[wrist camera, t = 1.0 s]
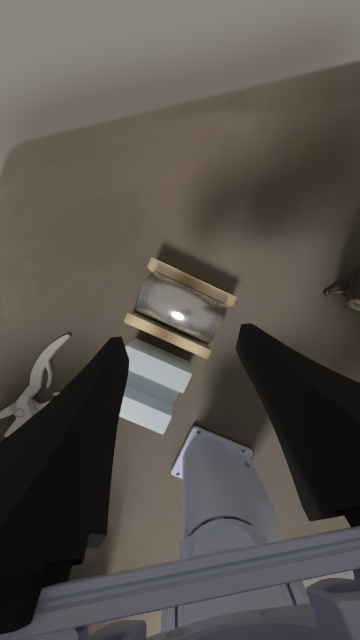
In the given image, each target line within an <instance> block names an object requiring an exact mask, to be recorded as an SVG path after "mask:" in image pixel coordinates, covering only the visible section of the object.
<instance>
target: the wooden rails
mask: <svg viewBox="0 0 360 640" xmlns="http://www.w3.org/2000/svg"><path fill="white" fill-rule="evenodd" d="M148 268H149V270H150V271H151V272H153V271H156V272H158V273H160V274H162V275H164V276H166V277H168V278H170V279H173V280H175V281H177V282H179V283H181V284H183V285H185V286H188V287H190V288H192V289H194V290H196V291H198V292H200V293H203V294H205V295H207V296H209V297H211V298H213V299H215V300H218V301H220V302H222V303H224V304H226V306H227V307H233V306H234V304H235V302H236V300H237V297H235V296H233V295H231V294H229V293H227V292H224V291H222V290H220V289H218V288H216V287H214V286H212V285H210V284H207V283H205V282H203V281H201V280H199V279H197V278H195V277H193V276H191V275H188V274H186V273H184V272H182V271H180V270H178V269H176V268H174V267H171V266H169V265H167V264H165V263H163V262H161V261H159V260H157V259H155V258H152V257H151V260H150V262H149V264H148ZM124 322H125V323H127V324H129V325H131V326H134V327H136V328H138V329H140V330H143V331H145V332H147V333H149V334H151V335H154V336H156V337H158V338H160V339H163V340H165V341H167V342H169V343H172V344H174V345H176V346H178V347H181V348H183V349H185V350H187V351H190V352H192V353H194V354H196V355H199V356H201V357H203V358H205V359H208V357H209V355H210V353H211V351H212V350H211V349H210V348H209V346H208V345H206V344H203V343H201V342H199V341H197V340H194V339H192V338H190V337H188V336H186V335H183V334H181V333H179V332H177V331H175V330H172V329H170V328H168V327H166V326H163V325H161V324H159V323H157V322H155V321H152V320H150V319H148V318H146V317H144V316H141V315H139V314H137V313H135V312H130V313H127V315H126V318H125V320H124Z"/></svg>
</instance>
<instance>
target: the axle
mask: <svg viewBox="0 0 360 640" xmlns="http://www.w3.org/2000/svg"><path fill="white" fill-rule="evenodd" d="M136 308H137V311H139V312H142V313H144V314H146V315H148V316H150V317H153V318H155V319H157V320H159V321H161V322H164V323H166V324H168V325H170V326H172V327H175V328H177V329H179V330H181V331H184V332H186V333H188V334H190V335H192V336H195V337H197V338H199V339H201V340H203V341H206V342H210V341H211V340H212V339H213V338H214V337H215V335H216V334H217V332H218V331H219V329H220V327H221V325H222V323H223V320H224V318H225V314H226V309H227V306H226V304H224V303H222V302H220V301H218V300H215V299H213V298H211V297H209V296H207V295H205V294H203V293H200V292H198V291H196V290H194V289H192V288H190V287H188V286H185V285H183V284H181V283H179V282H177V281H175V280H173V279H170V278H168V277H166V276H164V275H162V274H160V273H158V272H156V271H153V272H152V273H151V274H150V275H149V276H148V278H147V280H146V281H145V283H144V285H143V287H142V290H141V292H140V295H139V298H138V301H137V307H136Z"/></svg>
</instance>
